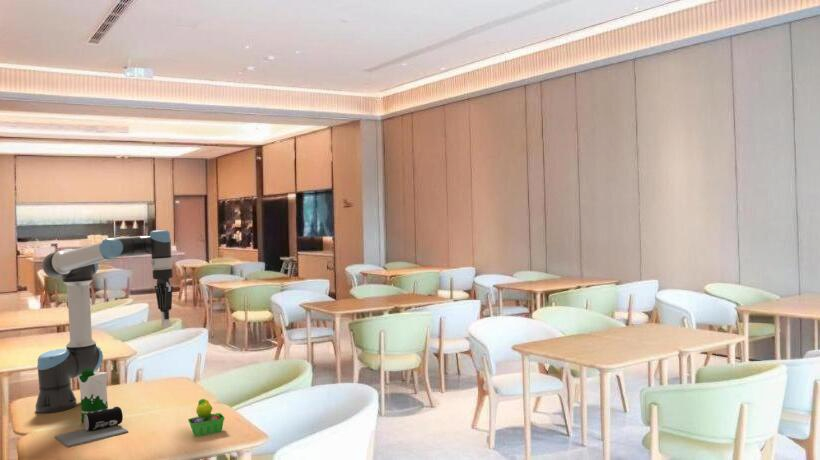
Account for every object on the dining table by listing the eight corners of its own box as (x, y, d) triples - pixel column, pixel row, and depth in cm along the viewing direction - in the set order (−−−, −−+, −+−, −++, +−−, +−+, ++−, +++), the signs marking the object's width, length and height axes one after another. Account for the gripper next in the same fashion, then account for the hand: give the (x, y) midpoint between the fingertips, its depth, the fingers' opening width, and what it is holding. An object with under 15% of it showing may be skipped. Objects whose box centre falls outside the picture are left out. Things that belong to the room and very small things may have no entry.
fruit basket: (192, 438, 233) (190, 405, 233) (187, 432, 241) (185, 400, 241) (226, 432, 239) (224, 400, 238) (220, 425, 247) (218, 394, 246)
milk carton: (77, 423, 260) (74, 370, 259) (97, 416, 268) (94, 365, 267) (94, 425, 256) (90, 372, 255) (113, 418, 264) (110, 366, 264)
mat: (54, 437, 243) (54, 435, 243) (112, 423, 256) (112, 422, 256) (68, 447, 231) (67, 445, 231) (128, 432, 244) (128, 430, 244)
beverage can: (122, 406, 252) (87, 413, 244) (124, 424, 251) (89, 432, 244) (117, 405, 257) (82, 412, 249) (118, 423, 256) (84, 430, 249)
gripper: (146, 269, 276) (150, 327, 277) (159, 270, 267) (163, 330, 267) (165, 267, 281) (168, 324, 282) (178, 268, 272) (181, 327, 272)
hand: (165, 327), depth 275 cm, fingers closed
